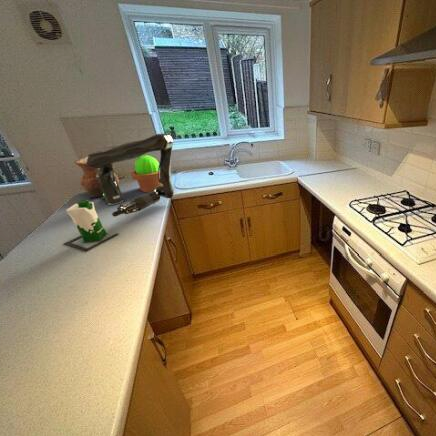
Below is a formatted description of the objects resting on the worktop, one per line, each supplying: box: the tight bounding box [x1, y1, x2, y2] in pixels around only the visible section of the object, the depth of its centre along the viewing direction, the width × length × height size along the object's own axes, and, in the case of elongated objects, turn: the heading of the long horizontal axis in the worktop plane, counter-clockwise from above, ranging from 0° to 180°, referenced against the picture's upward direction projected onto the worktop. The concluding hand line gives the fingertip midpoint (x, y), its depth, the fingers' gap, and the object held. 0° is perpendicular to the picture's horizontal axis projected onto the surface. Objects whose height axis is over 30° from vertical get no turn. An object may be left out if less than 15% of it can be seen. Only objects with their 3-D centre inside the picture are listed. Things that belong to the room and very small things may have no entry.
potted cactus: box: [130, 154, 163, 193], centre depth 175 cm, size 22×22×25 cm
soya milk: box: [65, 199, 107, 243], centre depth 116 cm, size 9×9×20 cm
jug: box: [74, 156, 120, 197], centre depth 170 cm, size 22×21×25 cm
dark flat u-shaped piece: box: [63, 233, 119, 252], centre depth 120 cm, size 17×16×1 cm
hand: (113, 215), depth 127 cm, fingers closed
